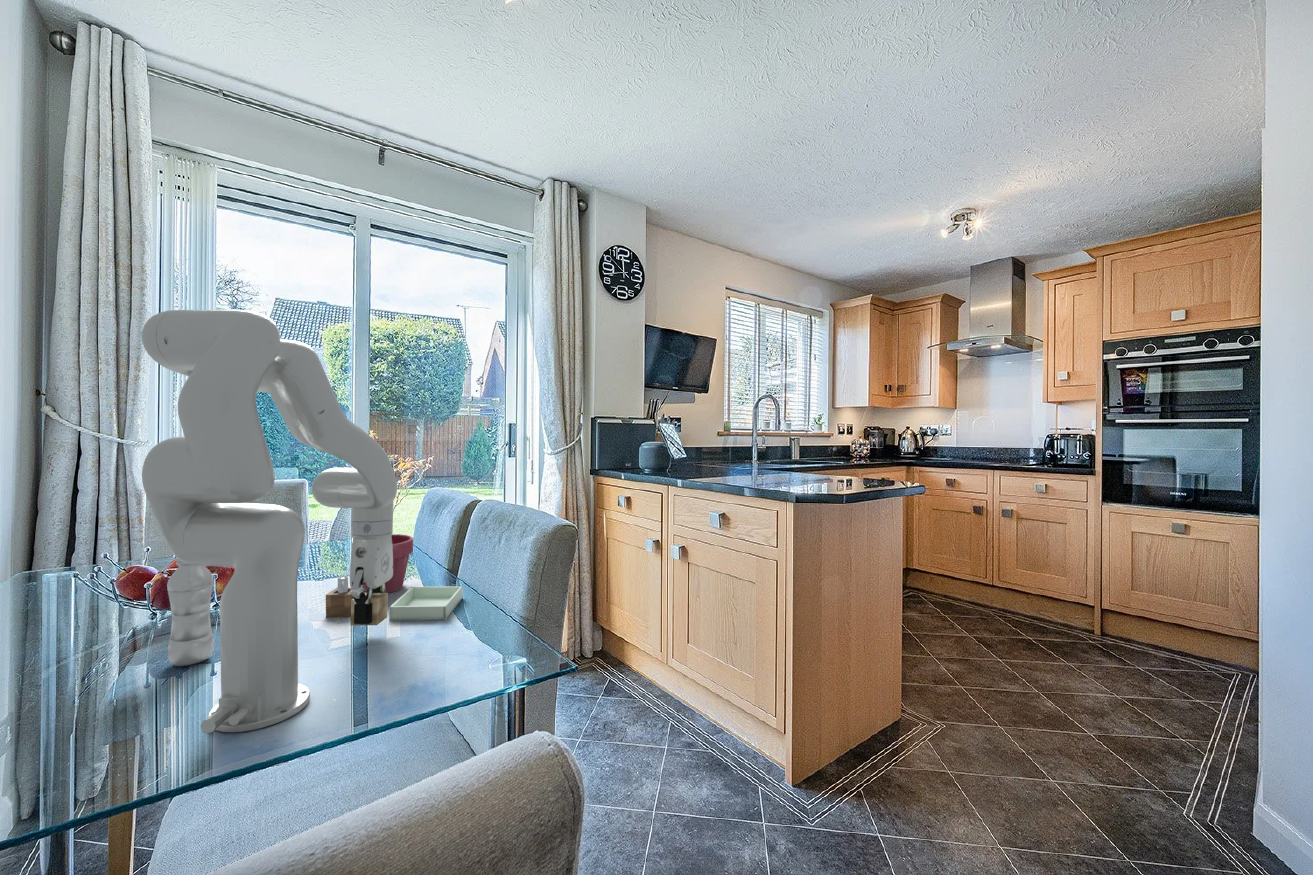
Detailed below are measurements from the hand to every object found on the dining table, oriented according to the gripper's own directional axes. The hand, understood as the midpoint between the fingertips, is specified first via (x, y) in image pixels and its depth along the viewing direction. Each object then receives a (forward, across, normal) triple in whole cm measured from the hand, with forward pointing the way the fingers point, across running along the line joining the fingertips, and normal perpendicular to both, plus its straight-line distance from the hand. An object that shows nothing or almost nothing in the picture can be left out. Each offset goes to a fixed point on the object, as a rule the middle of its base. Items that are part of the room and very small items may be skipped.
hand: (369, 617), depth 110 cm
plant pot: (+3, +32, +10) cm, 33 cm away
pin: (+4, +14, +12) cm, 19 cm away
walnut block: (+4, +15, +12) cm, 19 cm away
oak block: (+1, 0, 0) cm, 1 cm away
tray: (+3, +17, -6) cm, 18 cm away
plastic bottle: (+5, -9, +27) cm, 29 cm away
